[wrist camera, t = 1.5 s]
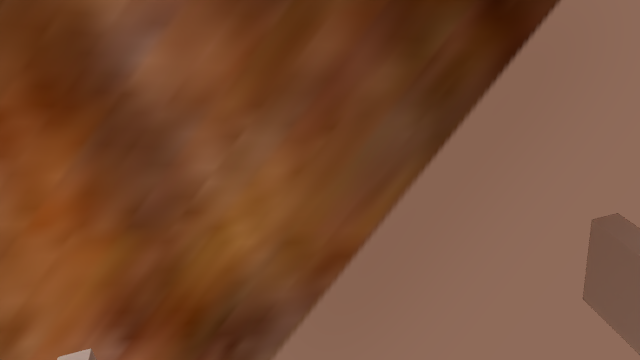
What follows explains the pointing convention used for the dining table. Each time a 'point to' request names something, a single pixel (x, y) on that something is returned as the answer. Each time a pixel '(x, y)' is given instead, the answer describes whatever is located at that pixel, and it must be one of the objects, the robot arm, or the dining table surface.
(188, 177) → the dining table surface
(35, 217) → the dining table surface
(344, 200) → the dining table surface
